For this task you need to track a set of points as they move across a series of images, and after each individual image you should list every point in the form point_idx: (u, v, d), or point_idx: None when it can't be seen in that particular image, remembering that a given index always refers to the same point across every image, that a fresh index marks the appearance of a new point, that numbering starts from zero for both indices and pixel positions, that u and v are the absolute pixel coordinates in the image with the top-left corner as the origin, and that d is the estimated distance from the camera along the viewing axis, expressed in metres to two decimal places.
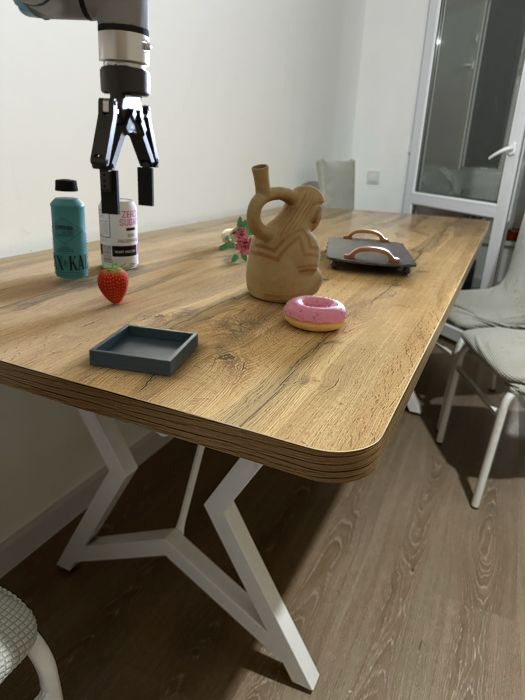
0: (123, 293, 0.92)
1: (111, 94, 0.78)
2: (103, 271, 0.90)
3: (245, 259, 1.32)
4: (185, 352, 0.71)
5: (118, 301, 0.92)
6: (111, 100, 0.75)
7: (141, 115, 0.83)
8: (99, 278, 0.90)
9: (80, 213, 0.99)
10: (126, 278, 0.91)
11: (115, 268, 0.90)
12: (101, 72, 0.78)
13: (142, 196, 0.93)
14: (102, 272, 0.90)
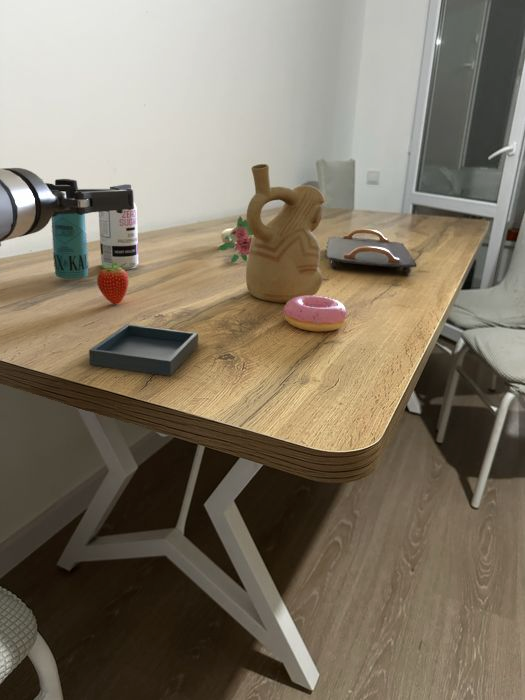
0: (123, 293, 0.92)
1: None
2: (103, 271, 0.90)
3: (245, 259, 1.32)
4: (185, 352, 0.71)
5: (118, 301, 0.92)
6: None
7: None
8: (99, 278, 0.90)
9: None
10: (126, 278, 0.91)
11: (115, 268, 0.90)
12: None
13: None
14: (102, 272, 0.90)
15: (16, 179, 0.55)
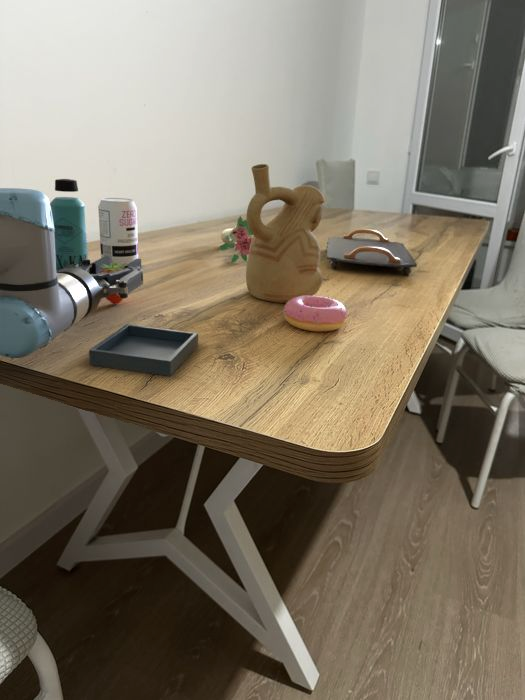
0: None
1: None
2: (103, 271, 0.90)
3: (245, 259, 1.32)
4: (185, 352, 0.71)
5: (118, 301, 0.92)
6: None
7: None
8: None
9: (80, 213, 0.99)
10: None
11: (115, 268, 0.90)
12: None
13: None
14: None
15: (75, 283, 0.72)
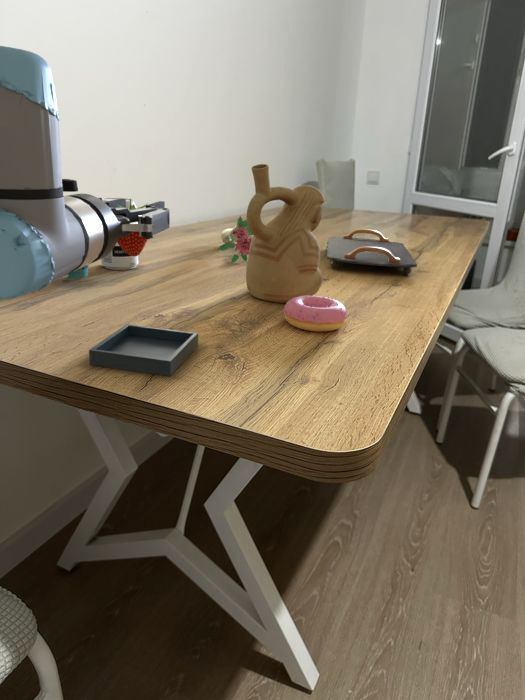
0: (143, 242, 0.73)
1: None
2: None
3: (245, 259, 1.32)
4: (185, 352, 0.71)
5: (137, 252, 0.73)
6: None
7: None
8: None
9: None
10: None
11: (134, 209, 0.72)
12: None
13: None
14: None
15: (86, 208, 0.53)
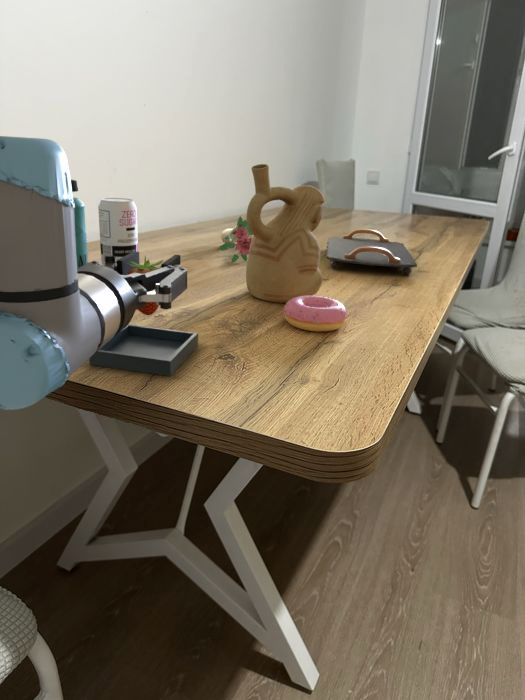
0: None
1: None
2: (133, 271, 0.66)
3: (245, 259, 1.32)
4: (185, 352, 0.71)
5: (152, 311, 0.69)
6: None
7: None
8: None
9: (80, 213, 0.99)
10: None
11: (149, 267, 0.67)
12: None
13: None
14: (131, 272, 0.66)
15: (102, 288, 0.48)
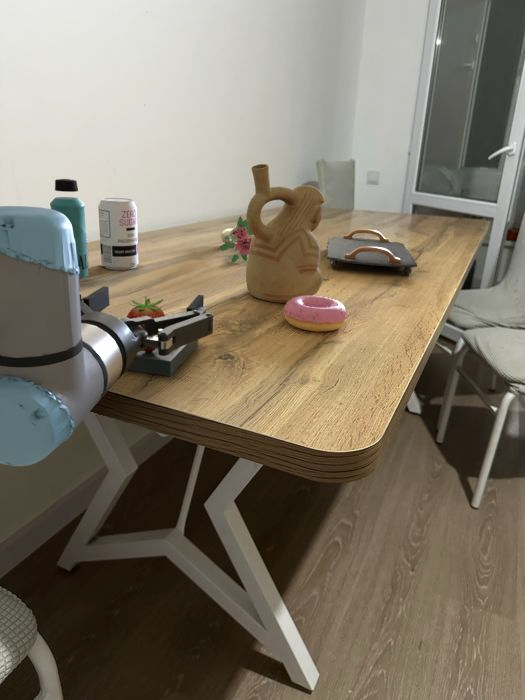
0: None
1: None
2: (134, 311, 0.68)
3: (245, 259, 1.32)
4: (185, 352, 0.71)
5: (152, 349, 0.71)
6: None
7: None
8: None
9: (80, 213, 0.99)
10: None
11: (149, 307, 0.69)
12: None
13: None
14: (132, 312, 0.68)
15: (104, 338, 0.50)
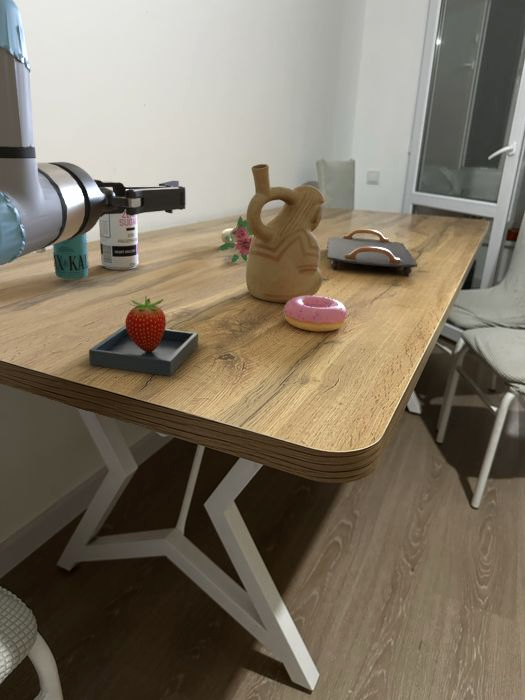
0: (159, 339, 0.70)
1: None
2: (134, 311, 0.68)
3: (245, 259, 1.32)
4: (185, 352, 0.71)
5: (152, 349, 0.71)
6: None
7: None
8: (128, 320, 0.68)
9: None
10: (163, 320, 0.69)
11: (149, 307, 0.69)
12: None
13: None
14: (132, 312, 0.68)
15: (65, 175, 0.48)
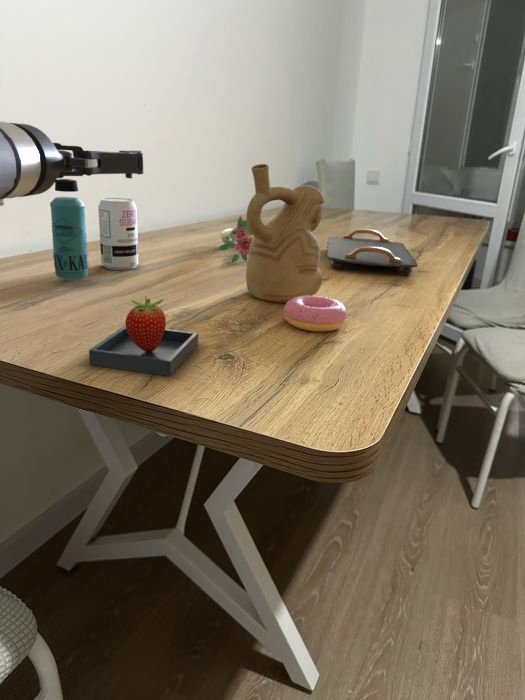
0: (159, 339, 0.70)
1: None
2: (134, 311, 0.68)
3: (245, 259, 1.32)
4: (185, 352, 0.71)
5: (152, 349, 0.71)
6: None
7: None
8: (128, 320, 0.68)
9: (80, 213, 0.99)
10: (163, 320, 0.69)
11: (149, 307, 0.69)
12: None
13: None
14: (132, 312, 0.68)
15: (20, 133, 0.52)
